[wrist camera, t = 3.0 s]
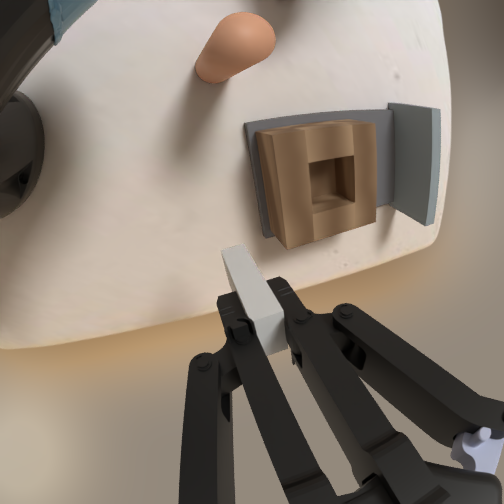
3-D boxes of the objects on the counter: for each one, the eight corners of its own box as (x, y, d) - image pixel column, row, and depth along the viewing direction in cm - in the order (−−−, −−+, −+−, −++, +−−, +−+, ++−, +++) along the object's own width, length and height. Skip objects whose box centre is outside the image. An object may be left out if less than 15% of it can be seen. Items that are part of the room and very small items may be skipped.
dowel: (198, 86, 24) (219, 68, 14) (192, 53, 22) (209, 15, 12) (236, 80, 25) (280, 61, 15) (230, 47, 22) (270, 11, 12)
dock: (264, 241, 35) (289, 276, 28) (242, 114, 27) (268, 115, 20) (397, 203, 39) (433, 223, 32) (397, 103, 30) (440, 109, 24)
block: (270, 230, 33) (287, 249, 29) (255, 131, 27) (272, 135, 23) (352, 207, 35) (375, 222, 31) (348, 119, 29) (375, 123, 25)
